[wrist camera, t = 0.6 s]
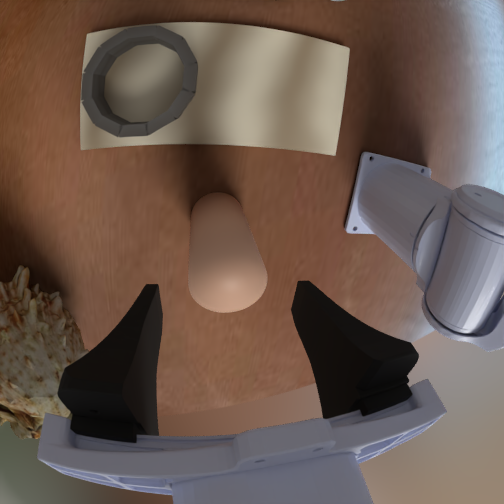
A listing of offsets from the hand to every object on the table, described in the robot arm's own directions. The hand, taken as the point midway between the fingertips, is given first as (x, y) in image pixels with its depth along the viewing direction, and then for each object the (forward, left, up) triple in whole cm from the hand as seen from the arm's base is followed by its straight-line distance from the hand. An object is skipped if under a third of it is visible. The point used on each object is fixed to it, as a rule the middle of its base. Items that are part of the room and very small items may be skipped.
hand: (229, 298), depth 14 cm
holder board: (+1, -11, -10) cm, 15 cm away
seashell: (+21, +11, -11) cm, 26 cm away
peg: (0, 0, -10) cm, 10 cm away
